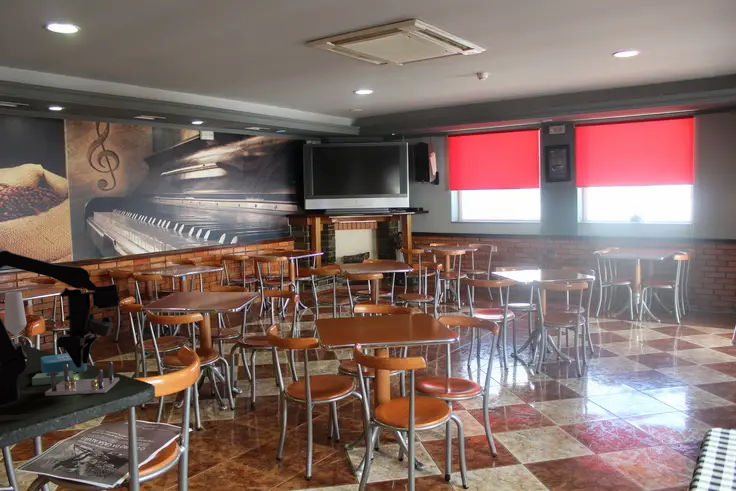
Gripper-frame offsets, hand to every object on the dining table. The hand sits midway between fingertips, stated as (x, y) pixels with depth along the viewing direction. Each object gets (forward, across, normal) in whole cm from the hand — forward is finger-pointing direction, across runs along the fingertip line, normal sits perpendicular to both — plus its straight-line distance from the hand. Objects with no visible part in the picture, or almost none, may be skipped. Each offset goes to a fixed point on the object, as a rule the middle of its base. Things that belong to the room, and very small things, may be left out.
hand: (82, 365), depth 174 cm
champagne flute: (+7, +38, +35) cm, 52 cm away
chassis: (+6, 0, 0) cm, 7 cm away
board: (+7, +10, +12) cm, 17 cm away
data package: (+4, +27, +17) cm, 32 cm away
